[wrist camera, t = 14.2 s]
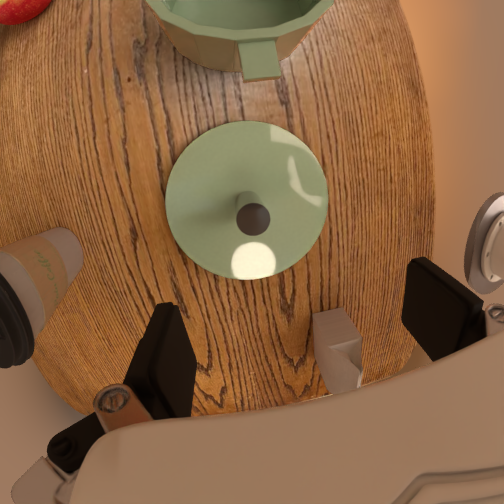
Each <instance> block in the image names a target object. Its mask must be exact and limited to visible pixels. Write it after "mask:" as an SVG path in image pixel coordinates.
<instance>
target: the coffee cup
mask: <svg viewBox="0 0 504 504" xmlns="http://www.w3.org/2000/svg"><path fill="white" fill-rule="evenodd" d="M82 265H83V251H82V247H81V245H80V242H79V241H78V239H77V237H76V236H75V235H74V233H72V232H71V231H70V230H68V229H66V228H63V227H57V228H53V229H50V230H48V231H45V232H42V233H40V234H37V235H33V236H28V237H26V238H23V239H21V240H18V241H16V242H14V243H11V244H9V245H7V246H4V247H2V248H0V368H9V367H11V366H12V365H14V366H17V365H21V364H23V363H25V361H26V360H28V359H29V358H30V357H31V356H32V354H33V352H34V340H35V339H36V337H37V335H38V334H39V333H40V332H41V331H42V330H43V329H44V327H45V325H46V324H47V322H48V320H49V319H50V317H51V316H52V314H53V312H54V311H55V309H56V308H57V306H58V305H59V303H60V302H61V300H62V299H63V297H64V296H65V294H66V292H67V289H68V287H69V286H70V284H71V283H72V281H73V280H74V278H75V277H76V276H77V274H78V273H79V271H80V270H81V268H82Z"/></svg>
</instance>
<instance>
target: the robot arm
mask: <svg viewBox="0 0 504 504" xmlns="http://www.w3.org/2000/svg"><path fill="white" fill-rule="evenodd" d="M481 269H482V273H483V276H484V277H485V278H486V279H487V280H489V281H491V282H496V281H498V280H500V279H503V280H504V212H503V213H501V214H500V215H499V216H498V217H497V218H496V219H495V220H494V222H493V223H492V225H491V227H490V228H489V231H488V233H487V235H486V238H485V241H484V245H483V249H482V254H481ZM483 303H484V301H483V300H482V299H480V298H479V297H478V296H477V295H475V294H474V293H473V292H472V291H470V290H469V289H468V288H467V287H465V286H464V285H463V284H461V283H460V282H459V281H457V280H456V279H455V278H453V277H452V276H451V275H449V274H448V273H446V272H445V271H444V270H442V269H441V268H439V267H438V266H437V265H435V264H434V263H433V262H431V261H430V260H428V259H427V258H426V257H419V258H414V259H412V260H411V261H410V263H409V264H408V266H407V276H406V285H405V294H404V302H403V309H402V315H401V320H402V323H403V325H404V326H405V327H406V329H407V330H408V331H409V332H410V333H411V335H412V336H413V337H414V338H415V340H416V341H417V342H418V343H419V344H420V346H421V347H422V348H423V350H424V351H425V352H426V353H427V355H428V356H429V357H430V359H431V360H432V361H433V362H432V363H430V364H427V365H424V366H422V367H420V368H417V369H414V370H412V371H409V372H406V373H403V374H401V375H398V376H395V377H392V378H389V379H386V380H383V381H380V382H377V383H374V384H371V385H367V386H364V387H361V388H357V389H354V390H350V391H346V392H343V393H339V394H335V395H331V396H327V397H323V398H318V399H314V400H309V401H305V402H300V403H295V404H290V405H284V406H279V407H273V408H267V409H260V410H253V411H245V412H237V413H229V414H220V415H209V416H197V417H191V410H192V401H193V392H194V384H195V376H196V368H197V360H196V356H195V354H194V351H193V348H192V345H191V342H190V340H189V337H188V334H187V331H186V328H185V325H184V322H183V319H182V316H181V313H180V310H179V307H178V306H177V305H173V303H172V302H167V303H159V304H157V305H156V307H155V310H154V312H153V314H152V317H151V319H150V321H149V324H148V326H147V329H146V331H145V333H144V336H143V338H142V339H141V340H140V341H139V343H138V346H137V348H136V351H135V353H134V356H133V358H132V361H131V363H130V366H129V368H128V371H127V374H126V376H125V379H124V382H123V384H118V383H117V384H111V385H109V386H106V387H104V388H103V389H101V390H100V391H99V392H98V393H97V394H96V396H95V398H94V401H93V407H94V410H95V412H93V413H92V414H90V415H89V416H87V417H85V418H84V419H82V420H80V421H78V422H77V423H75V424H73V425H72V426H70V427H69V428H67V429H65V430H63V431H61V432H60V433H58V434H56V435H55V436H54V437H53V438H52V439H51V440H50V442H49V444H48V447H47V453H48V456H47V457H46V458H44V457H43V456H42V457H41V458H40V459H39V460H38V461H37V462H36V463H35V464H34V465H33V466H32V467H30V469H29V470H27V472H25V473H24V475H22V476H21V477H20V478H19V479H18V480H17V481H16V482H15V484H14V485H13V487H12V490H11V495H12V499H13V502H14V503H15V504H504V305H502V304H490V305H489V306H487V307H486V309H485V311H483V310H482V306H483Z"/></svg>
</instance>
